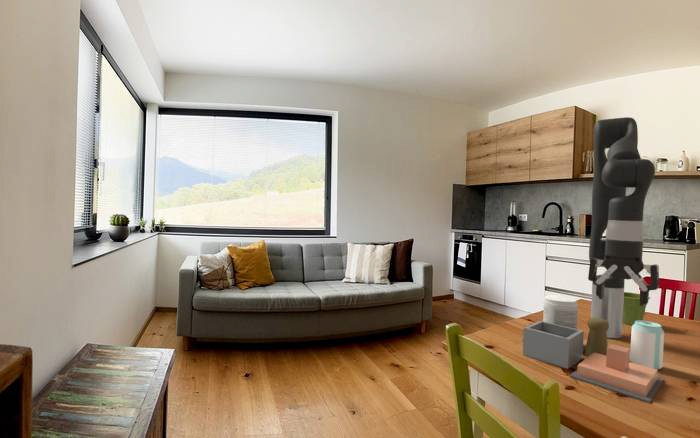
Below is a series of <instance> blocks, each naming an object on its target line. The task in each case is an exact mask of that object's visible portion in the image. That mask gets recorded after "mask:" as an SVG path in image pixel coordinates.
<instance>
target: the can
mask: <svg viewBox="0 0 700 438" xmlns="http://www.w3.org/2000/svg"><path fill="white" fill-rule="evenodd" d="M630 336H631V337H630V357H629V362H631V363H635V364H638V365H642V366H646V367H649V368H653V369H657V370H658V371H659V370H660V369H662V368H663V361H664V344H665V341H664V340H665V331H664V329H663V328H662V325H661V324H659V323H657V322H652V321H648V320H643V321H640V320H638V321H635V324H634V325H631V334H630Z"/></svg>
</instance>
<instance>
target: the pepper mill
mask: <svg viewBox="0 0 700 438" xmlns="http://www.w3.org/2000/svg"><path fill="white" fill-rule="evenodd" d="M587 326H588V328H589V330H588V335H587V340H586V345H585V350H584V355H586V356H587V357H589V356H590V355H591V354H593V353H598V354H601V355H605V356H606V355H607V347H608V346H609V344H608V338H607V334H606V331H607V330H608V328H609V324H608V322H607V321H606V320H603V319H600V318H591V317H590V318H589V319H588V321H587Z"/></svg>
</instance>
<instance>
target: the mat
mask: <svg viewBox="0 0 700 438" xmlns="http://www.w3.org/2000/svg"><path fill="white" fill-rule="evenodd" d="M569 378H571V379H575V380H578V381H580V382H581V381H582V382H584V383H587V384H591V385H593V386H597V387H599V388H602V389H605V390H609V391H611V392H614V393H618V394H621V395H624V396H625V397H626V396H627V397H630V398H632V399H636V400H639V401H641V402H645V403H647V404H651V402H652V400H653V399H654V397H655V395H656V394H657V393H658V390H659V389H660V387H661V386H662V384H663V382H664V381H665V380H664V379H665V378H662V377H659V376H657V380H656V382H655V383H654V385H653V386H652V388H651V390H650V391H649V393H648V394H647V396H646V397H645V396H642V395H639V394H636V393H633V392H630V391H627V390H624V389H620V388H617V387H614V386H611V385H608V384H605V383H602V382H599V381H595V380H592V379H589V378H586V377H583V376H580V375H577V369H575V371H573V372H572V373H571V374H569Z"/></svg>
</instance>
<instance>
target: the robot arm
mask: <svg viewBox="0 0 700 438" xmlns="http://www.w3.org/2000/svg"><path fill="white" fill-rule="evenodd" d="M638 131H639V130H638V124H637V121H636V120H635V119H634V118H633V117H628V116H627V117H626V116H625V117H615V118H614V117H613V118H606V119H599V120H597V121H596V122H595V124H594V126H593V134H592V135H593V136H592V137H593V138H592V142H593V144H592V145H593V179H592V189H591V190H592V193H591V230H590V239H589V249H588V259H589V268H588V277H587V279H588V281H589V282H591V283H592V285H591V306H590V318H600V319H603V320H606V321H607V322H608V324H609V328H608V330H607V331H606V334H607V339H622V338H623V337H622V336H623V325H624V324H623V305H624V292H625V280H633V282H634V283H635V284H636V285H637V286H638V287H639V288H640V291H639V294H640V306H645V304H647V305H648V304H649V300H650V299H649V297H650V296H649V295H650V291H657V290H658V289H659V288H660V267H659V266H660V265H659V264H655V263H654V264H644V262H643V248H644V224H643V223H644V206H645V201H646V197H647V194H648V193H649V189H650V186H651V184H652V182H653V181H654V178H655V174H656V167H655V164H654V163H653V162H652V160H649V159H646V158H641V154H640V152H639V149H638V144H639V143H638V141H639V133H638ZM606 149H608V150H607V154H606ZM627 188H632V189H633V188H634V190H633V192H632V193H631V194H628V195H627ZM605 231H606V232H605ZM604 233H605V239H602V237H603V235H604ZM600 267H604V268H605V271H604V272H603V274H598V275H597V273H598V268H600ZM643 270H646V273H647V274H650V284H647V282H646V281H645V279H644V277H642V275H641V274H640V273H641V272H642V271H643ZM648 299H649V300H648Z"/></svg>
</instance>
